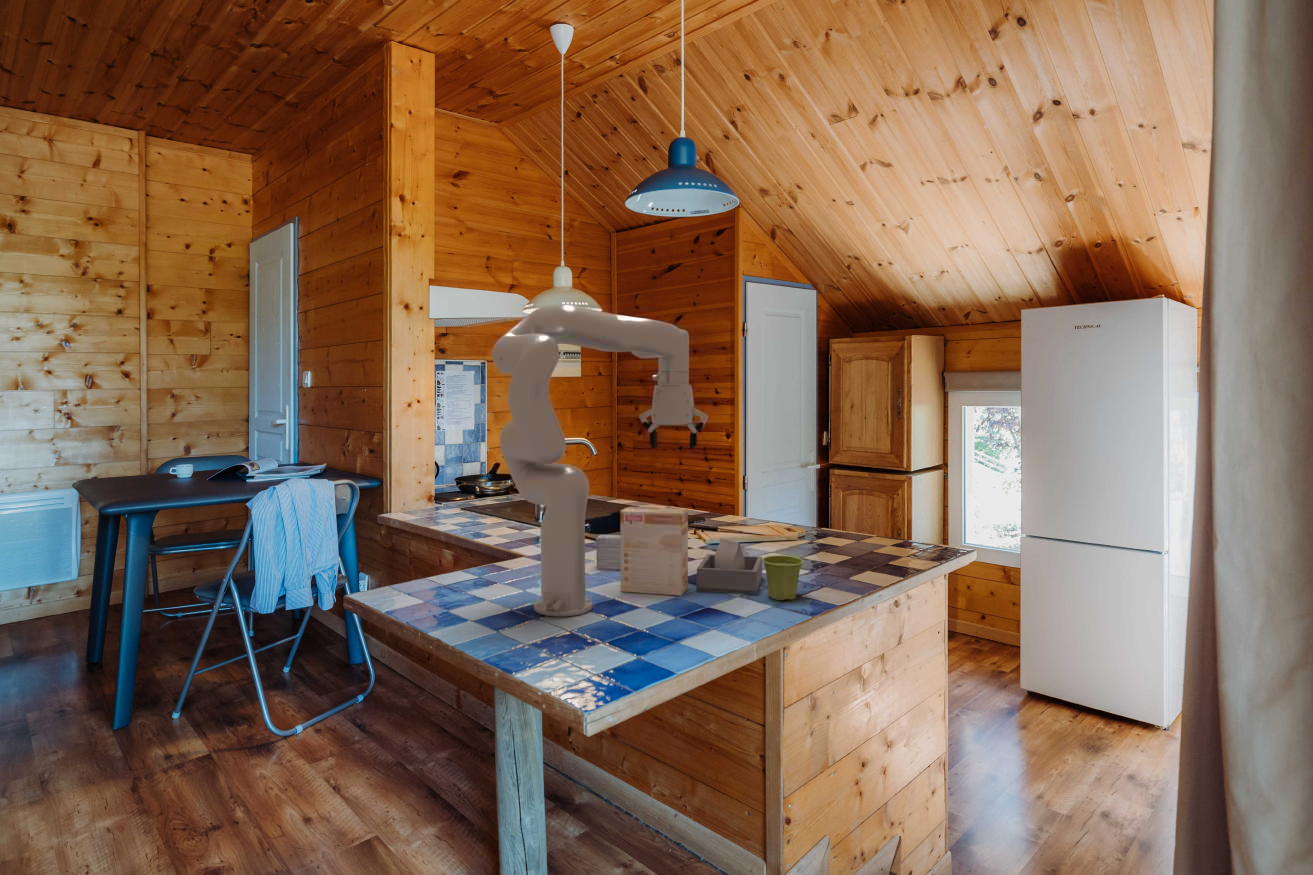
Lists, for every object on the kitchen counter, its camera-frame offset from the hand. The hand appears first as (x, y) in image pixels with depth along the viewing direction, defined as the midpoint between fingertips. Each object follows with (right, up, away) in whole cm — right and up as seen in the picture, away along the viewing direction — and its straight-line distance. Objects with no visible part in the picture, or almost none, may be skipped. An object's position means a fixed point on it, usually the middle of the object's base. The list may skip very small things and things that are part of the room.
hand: (673, 448), depth 185 cm
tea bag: (+14, -32, -3) cm, 35 cm away
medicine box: (-16, -33, +14) cm, 39 cm away
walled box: (+14, -33, -3) cm, 36 cm away
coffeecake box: (-5, -34, -8) cm, 35 cm away
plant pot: (+25, -34, -14) cm, 44 cm away
